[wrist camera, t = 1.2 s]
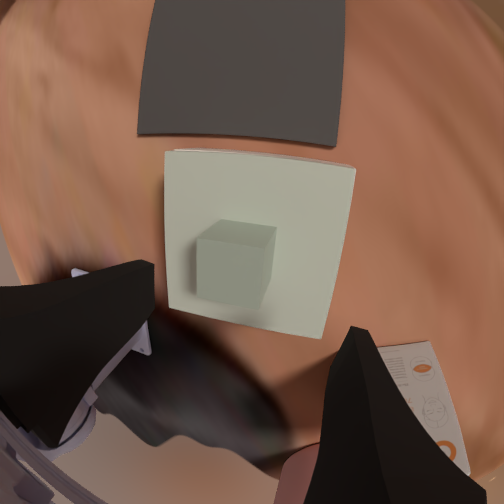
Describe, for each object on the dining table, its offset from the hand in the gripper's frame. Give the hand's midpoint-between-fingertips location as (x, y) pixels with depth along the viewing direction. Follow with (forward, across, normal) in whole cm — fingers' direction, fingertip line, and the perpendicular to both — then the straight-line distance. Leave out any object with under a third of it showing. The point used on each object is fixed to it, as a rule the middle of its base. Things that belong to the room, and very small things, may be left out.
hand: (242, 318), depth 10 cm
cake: (+10, -17, +30) cm, 36 cm away
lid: (+7, +2, 0) cm, 7 cm away
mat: (+11, +6, -12) cm, 17 cm away
